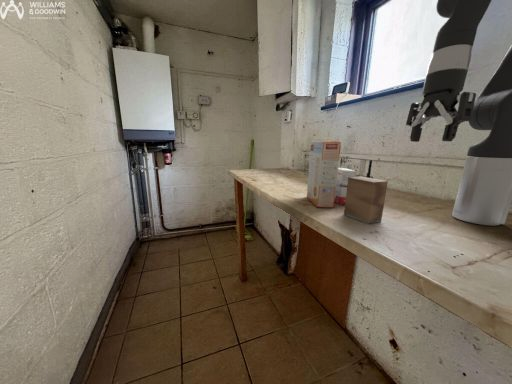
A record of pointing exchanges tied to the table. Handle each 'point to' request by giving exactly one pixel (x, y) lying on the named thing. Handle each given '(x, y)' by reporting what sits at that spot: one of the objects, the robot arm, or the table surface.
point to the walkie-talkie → (369, 170)
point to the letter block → (365, 199)
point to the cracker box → (323, 173)
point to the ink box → (342, 184)
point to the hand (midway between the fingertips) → (429, 141)
